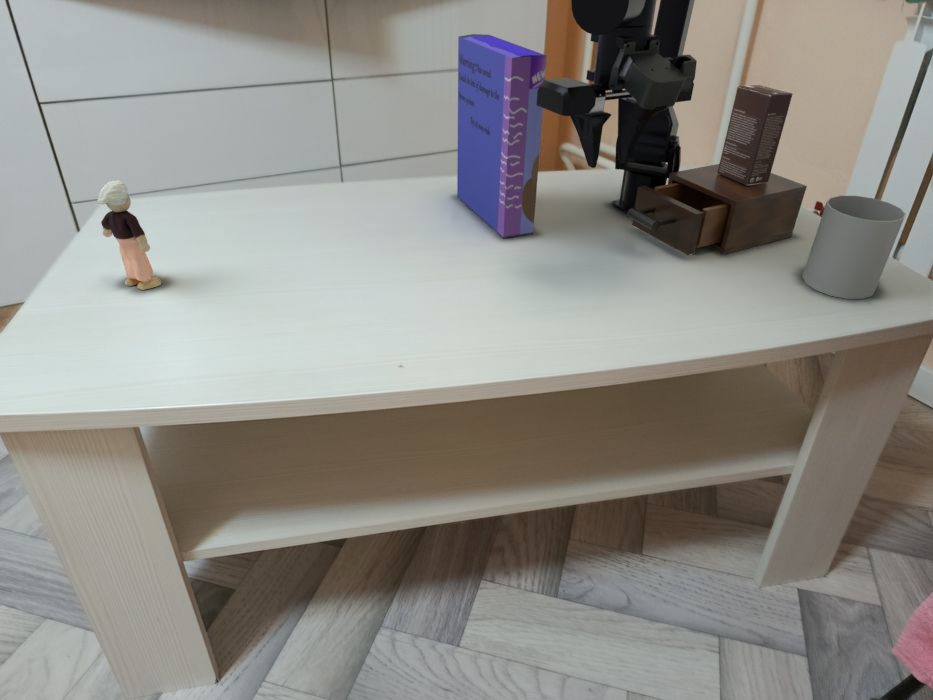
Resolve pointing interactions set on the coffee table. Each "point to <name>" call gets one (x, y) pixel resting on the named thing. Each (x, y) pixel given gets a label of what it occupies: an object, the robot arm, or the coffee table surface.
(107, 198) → the grandmother figurine
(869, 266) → the cup
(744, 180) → the box
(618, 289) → the coffee table surface
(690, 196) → the drawer
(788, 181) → the cabinet
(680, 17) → the robot arm
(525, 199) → the cereal box
